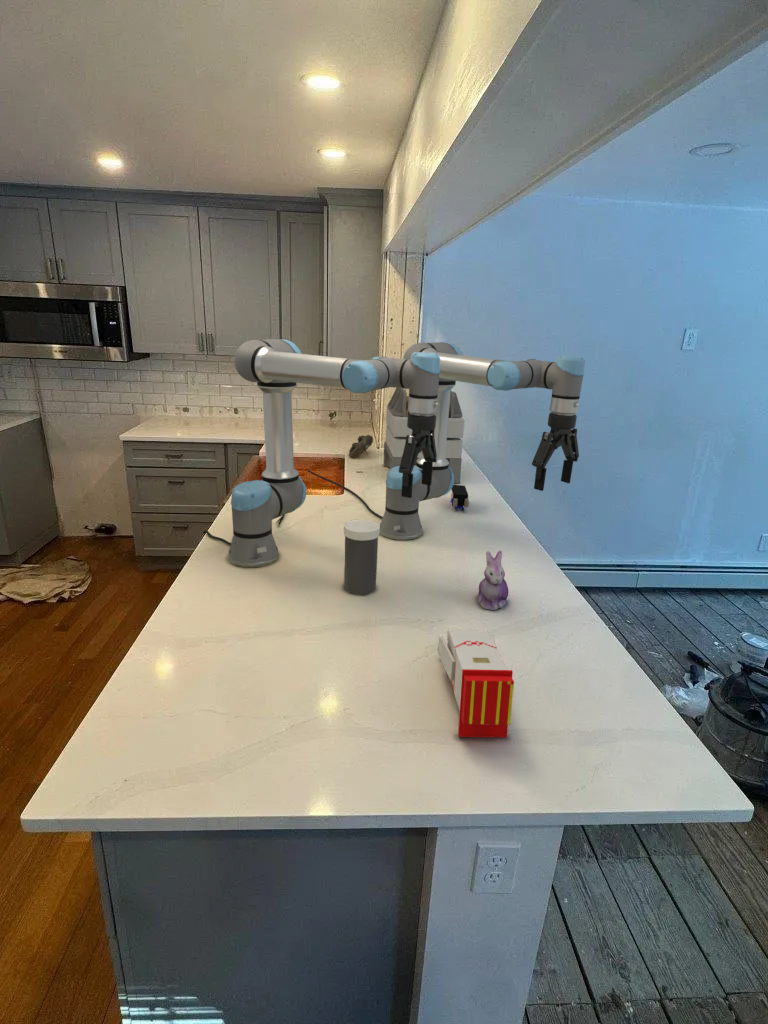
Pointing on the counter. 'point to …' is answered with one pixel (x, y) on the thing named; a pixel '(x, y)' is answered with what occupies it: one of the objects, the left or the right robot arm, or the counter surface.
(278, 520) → the feather
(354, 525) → the lid
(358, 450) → the fossil
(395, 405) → the grey and brown box
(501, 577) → the figurine
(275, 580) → the counter surface
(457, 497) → the figurine character
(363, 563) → the jar
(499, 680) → the toy
